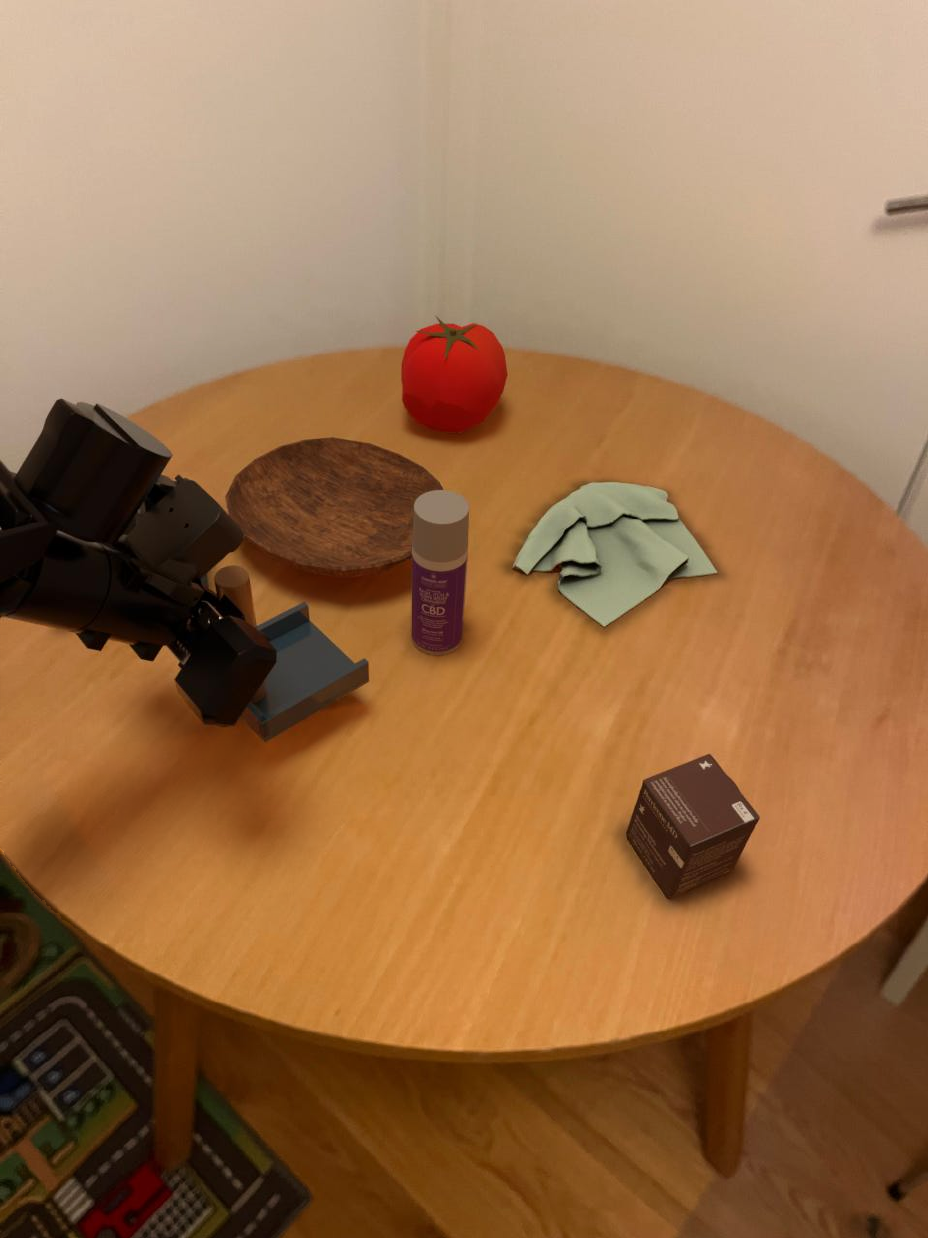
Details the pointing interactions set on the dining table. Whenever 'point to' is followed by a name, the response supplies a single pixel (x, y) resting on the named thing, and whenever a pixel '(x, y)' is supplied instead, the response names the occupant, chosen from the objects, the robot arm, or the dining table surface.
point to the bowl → (330, 505)
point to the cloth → (613, 547)
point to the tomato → (452, 376)
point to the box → (690, 824)
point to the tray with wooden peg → (291, 663)
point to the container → (439, 571)
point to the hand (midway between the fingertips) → (256, 632)
